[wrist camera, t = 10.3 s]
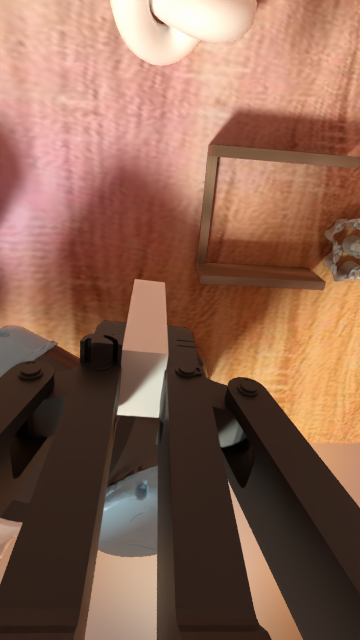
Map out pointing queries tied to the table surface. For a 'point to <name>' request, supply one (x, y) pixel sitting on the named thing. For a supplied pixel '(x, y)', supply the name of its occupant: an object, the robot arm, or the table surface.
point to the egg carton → (350, 245)
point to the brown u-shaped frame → (257, 273)
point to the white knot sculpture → (179, 25)
